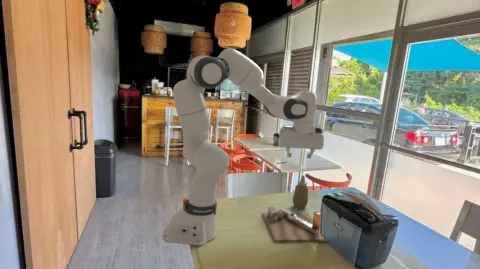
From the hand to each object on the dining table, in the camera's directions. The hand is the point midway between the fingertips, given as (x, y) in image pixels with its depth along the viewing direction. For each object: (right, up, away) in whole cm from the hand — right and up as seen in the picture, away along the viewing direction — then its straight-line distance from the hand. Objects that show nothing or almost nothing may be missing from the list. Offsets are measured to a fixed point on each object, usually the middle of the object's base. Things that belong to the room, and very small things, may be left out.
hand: (298, 157), depth 120 cm
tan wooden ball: (-8, -30, +7) cm, 31 cm away
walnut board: (-2, -32, +1) cm, 32 cm away
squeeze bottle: (+5, -29, +23) cm, 38 cm away
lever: (0, -31, +3) cm, 31 cm away
